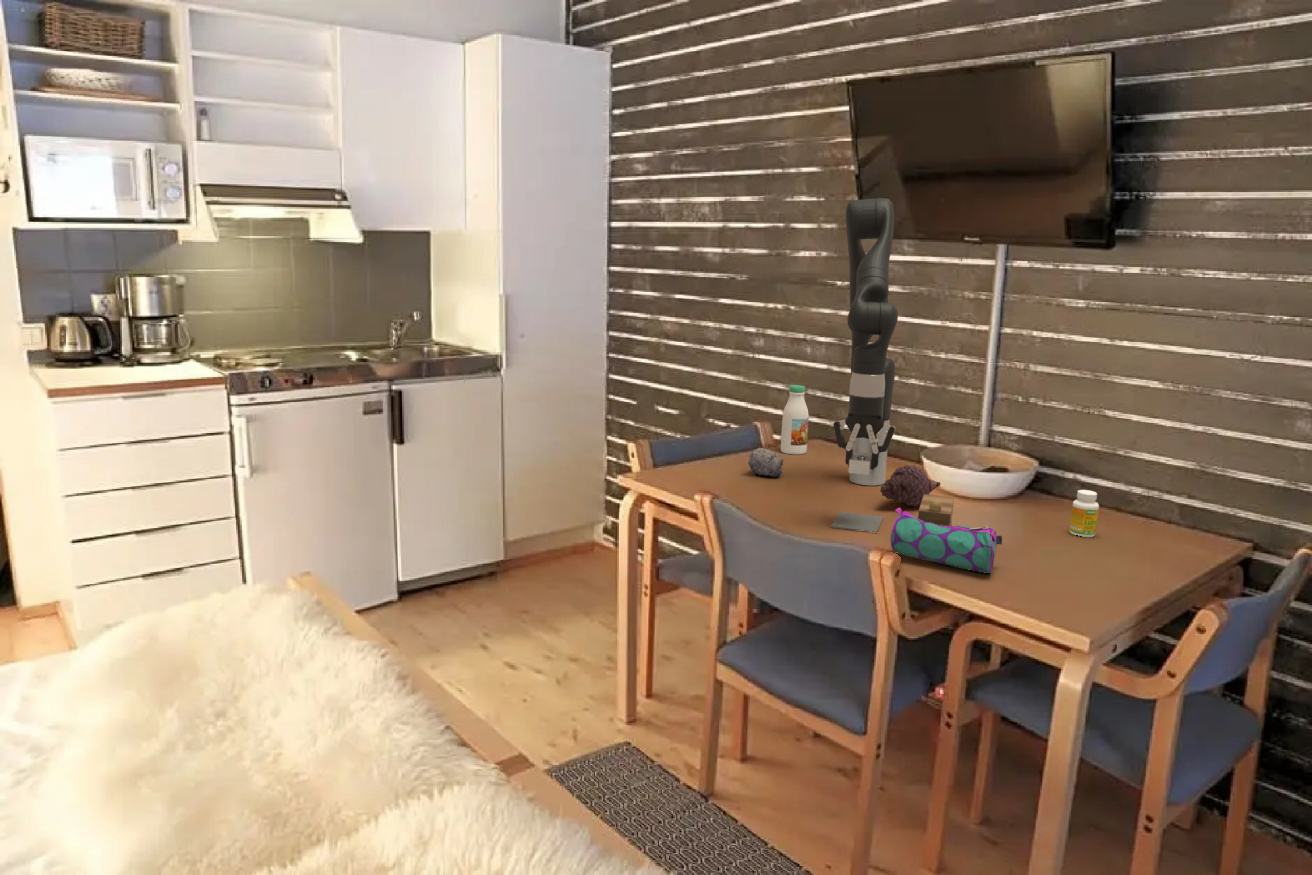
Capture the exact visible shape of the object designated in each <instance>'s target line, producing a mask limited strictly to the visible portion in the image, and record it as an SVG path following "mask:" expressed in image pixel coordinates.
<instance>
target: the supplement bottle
mask: <svg viewBox="0 0 1312 875" xmlns="http://www.w3.org/2000/svg"><path fill="white" fill-rule="evenodd" d="M1097 496H1098V493H1097V492H1096V491H1093V490H1088V489H1079V490H1077V494H1076V499H1075V500H1073V502H1072V506H1071V507H1072V508H1071V514H1070V522H1069V530H1068V531H1069V533H1070V534H1071V535H1073V536H1076V535H1078V536H1077V537H1080V536H1082V537H1081V538H1092V537H1095V536H1096V532H1097V524H1098V517H1099V512H1100V510H1099V509H1100V505H1099V503H1098V502H1096V501H1097Z"/></svg>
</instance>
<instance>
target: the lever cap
mask: <svg viewBox="0 0 1312 875" xmlns="http://www.w3.org/2000/svg"><path fill="white" fill-rule="evenodd" d="M871 463H872V454H868V453H859V452H855V453H854V454H853V456H852V457H851V458H850V459H849V467H848V473H849V474H850V473H855V474H865V475H869V474H870V472H871V471H872V470H871Z"/></svg>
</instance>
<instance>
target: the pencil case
mask: <svg viewBox="0 0 1312 875" xmlns="http://www.w3.org/2000/svg"><path fill="white" fill-rule="evenodd" d="M894 512H895V513H896V514H898V516H897V517H896V518H895V520H894V522H893V525H892V528H891V532H890V545H891V548H892V551H893V552H894V553H895V552H898V553H900V554H899V555H902V556H904V557H909V556H910V558H913V557H914V559H916V558H919V560H923V559H924V560H923V561H927V560H930V561H929V562H934V563H937V564H942V565H946V566H949V565H950V567H953V566H954V567H953V568H957V567H958V569H961V568H963V569H962V570H965V569H970V570H974V571H973V572H975V571H979V572H978V573H981V572H985V573H990V574H991V573H992V571H993V567H994V562H995V556H996V548H997V545H1001V546H1002V545H1003V537H1002V536H1003V535H997V531H996V530H995V529H994V528H993V527H989V526H988V525H983V526H980V527H970V526H964V525H952V526H942V525H936V524H933V523H931V522H924V521H922V520H920V519H918V517H916V516H914V515H912V513H911V512H908V511H906V510H905V511H902V508H901V507H898V508H896V509H894ZM970 570H969V571H970ZM985 573H984V574H985Z"/></svg>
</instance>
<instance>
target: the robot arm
mask: <svg viewBox="0 0 1312 875" xmlns="http://www.w3.org/2000/svg"><path fill="white" fill-rule="evenodd" d="M894 211H895V210H894V204H893V202H892V201H891V200H890V198H885V197H884V198H883V197H882V198H881V197H879V198H877V197H876V198H867V199H866V198H865V199H854V200H850V201H849V202H848V203H847V205H846V208H845V228H846V239H847V240H846V241H847V248H848V249H847V250H848V260H849V263H848V264H849V311H848V315H847V326H848V328H849V330H850V331H851V352H850V353H851V354H850V355H851V357H850V358H851V359H850V382H849V383H850V384H849V390H848V391H849V394H848V396H849V398H848V408H847V409H848V411H847V412H848V413H847V417H846V418H845V419H842V420H839V419H837V420H836V419H835V421H834V422H833V428H834V429H833V430H834V433H835V437H836V442H837V447H838V448H842V449H843V450H845V461H844V462H845V465H847V468H849V459H850V458H851V457H852V456H853V454H854V453H855V452H859V453H868V454H872V463H871V470H872V471H871V472H870V474H869V475H865V474H855V473H849V481H850V482H852V483H853V484H856V485H861V486H862V485H863V486H883V485H884V483H885V481H886V474H887V473H886V470H887V461H888V459H887V458H888V448H889V446H890V444H891V441H892V439H893V437H894V434H895V431H896V425H895V424H891V425H890V421H891V420H890V419H891V410H892V399H893V391H894V385H895V384H894V383H895V377H896V364H895V361H894V360H893V359H892V358H890V357H887V353H888V350H889V349H888V348H889V345H890V342H891V339H892V336H893V334H894V332H895V329H896V326H897V324H898V323H897V322H898V320H899V313H898V309H897V307H896V306H895V304H892V303H891V302H889V297H888V296H889V290H890V289H889V269H890V268H889V264H890V259H891V253H892V246H893V245H892V244H893V239H894V228H895V227H894V226H895V212H894ZM868 239H870V240H871V239H877V241H875V243H874V245H873V246H872V248H871V249H870V250H869V251H868V252H867V253H866V252H865V249H864V247H863V243H862V240H868ZM874 335H875V336H876V335H877V336H878V338H877V339H876V340H875V341H874V342H872V343H870V341H871V339H872V337H873V336H874ZM845 426H847V428H848V430H849V431H850V433H851V434H850V436H849V439H848V442H846V441H845V436H844V431H843V430H844V429H845Z"/></svg>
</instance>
